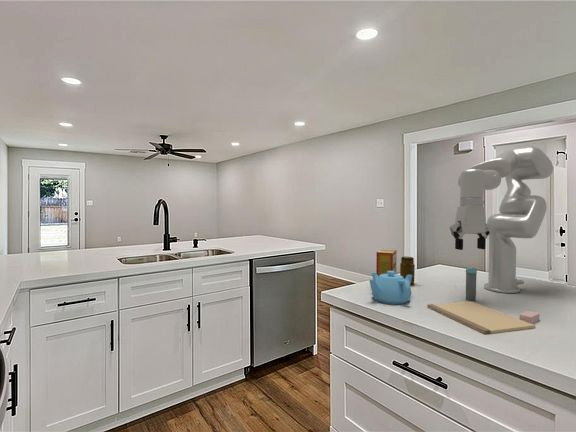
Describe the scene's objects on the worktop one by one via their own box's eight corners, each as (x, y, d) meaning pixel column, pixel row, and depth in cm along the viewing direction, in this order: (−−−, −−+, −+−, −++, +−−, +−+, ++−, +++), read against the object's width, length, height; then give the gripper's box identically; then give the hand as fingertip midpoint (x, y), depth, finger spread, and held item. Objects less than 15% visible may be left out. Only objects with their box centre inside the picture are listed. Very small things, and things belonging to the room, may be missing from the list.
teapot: (367, 303, 119) (367, 274, 119) (371, 292, 133) (372, 266, 133) (411, 307, 114) (412, 277, 113) (411, 296, 128) (412, 268, 127)
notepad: (470, 303, 118) (470, 300, 118) (535, 327, 95) (535, 324, 95) (427, 307, 114) (427, 304, 114) (484, 334, 90) (484, 330, 90)
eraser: (528, 318, 104) (528, 310, 103) (539, 321, 101) (539, 313, 101) (519, 322, 100) (519, 314, 100) (531, 325, 98) (531, 317, 98)
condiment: (409, 281, 151) (409, 255, 150) (421, 286, 143) (421, 258, 142) (395, 282, 149) (395, 256, 149) (406, 287, 141) (406, 259, 140)
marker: (470, 298, 124) (471, 267, 123) (478, 301, 120) (479, 269, 120) (462, 299, 123) (463, 267, 123) (470, 302, 120) (471, 269, 119)
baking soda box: (392, 290, 135) (392, 252, 135) (376, 288, 138) (376, 251, 138) (396, 285, 144) (396, 249, 143) (381, 283, 147) (381, 248, 146)
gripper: (482, 203, 126) (481, 247, 127) (444, 202, 122) (443, 248, 123) (499, 203, 119) (498, 250, 119) (458, 202, 115) (457, 251, 115)
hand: (470, 249), depth 121 cm, fingers open, 9 cm apart
